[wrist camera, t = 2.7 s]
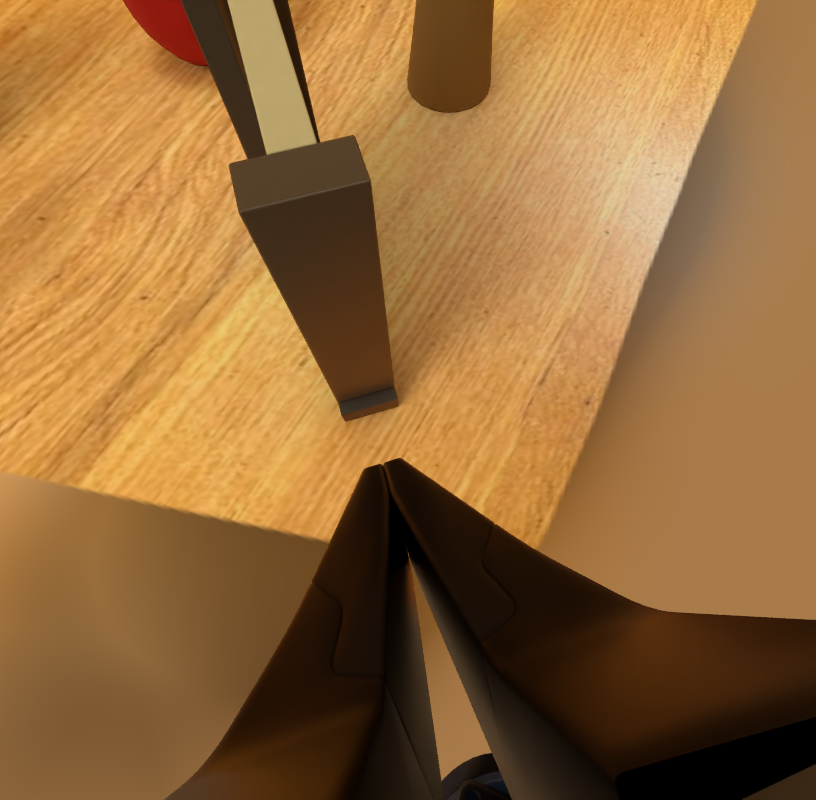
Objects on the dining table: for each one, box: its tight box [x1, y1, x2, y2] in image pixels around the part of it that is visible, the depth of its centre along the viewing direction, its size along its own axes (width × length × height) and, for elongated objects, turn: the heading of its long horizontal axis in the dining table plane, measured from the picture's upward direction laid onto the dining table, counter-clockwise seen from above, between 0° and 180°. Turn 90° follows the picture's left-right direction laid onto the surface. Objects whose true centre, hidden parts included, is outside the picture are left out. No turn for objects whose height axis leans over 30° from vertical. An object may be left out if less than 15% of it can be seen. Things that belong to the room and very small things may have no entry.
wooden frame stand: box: [180, 0, 398, 421], centre depth 18 cm, size 17×4×15 cm, turn 17°
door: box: [227, 0, 394, 402], centre depth 17 cm, size 10×3×13 cm, turn 17°
